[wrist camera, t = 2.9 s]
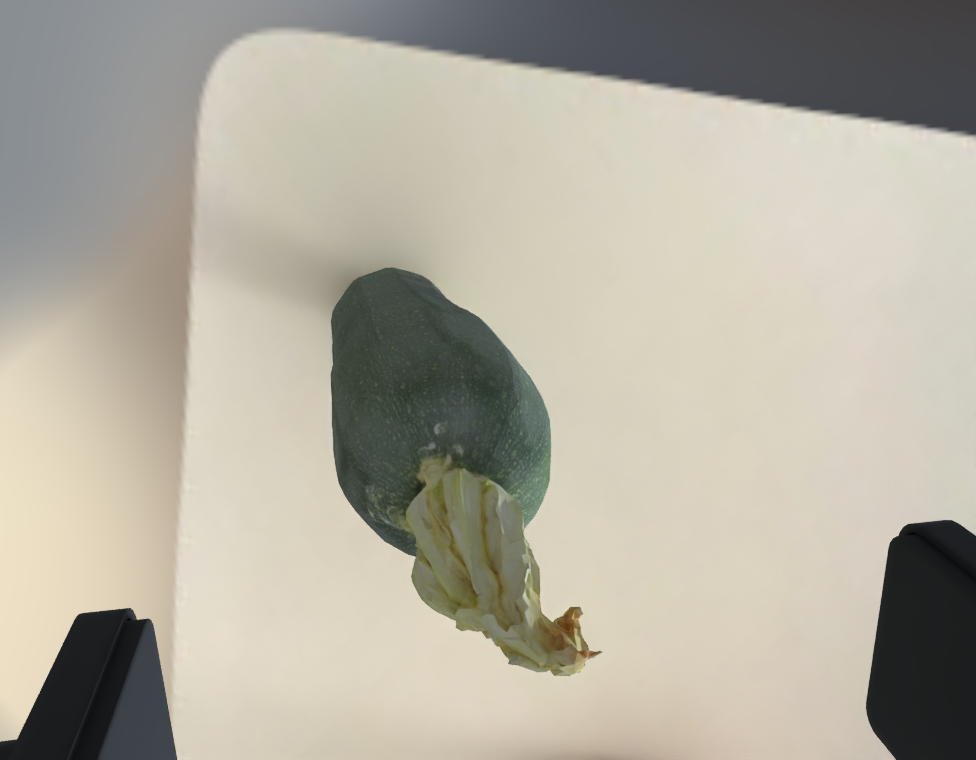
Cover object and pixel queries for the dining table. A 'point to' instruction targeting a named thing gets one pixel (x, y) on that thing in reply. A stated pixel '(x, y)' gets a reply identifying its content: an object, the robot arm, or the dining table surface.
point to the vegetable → (448, 460)
